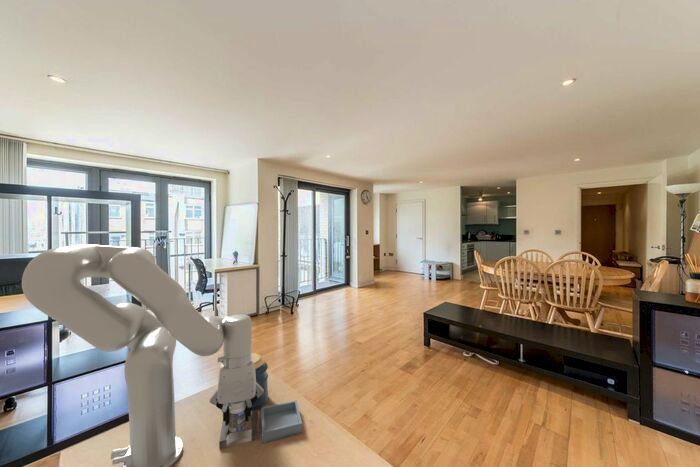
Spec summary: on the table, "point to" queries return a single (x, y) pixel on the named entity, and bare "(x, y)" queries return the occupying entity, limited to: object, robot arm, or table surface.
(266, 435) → the tray
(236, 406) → the pill bottle
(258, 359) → the canister
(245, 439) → the socket block
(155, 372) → the robot arm
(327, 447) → the table surface
